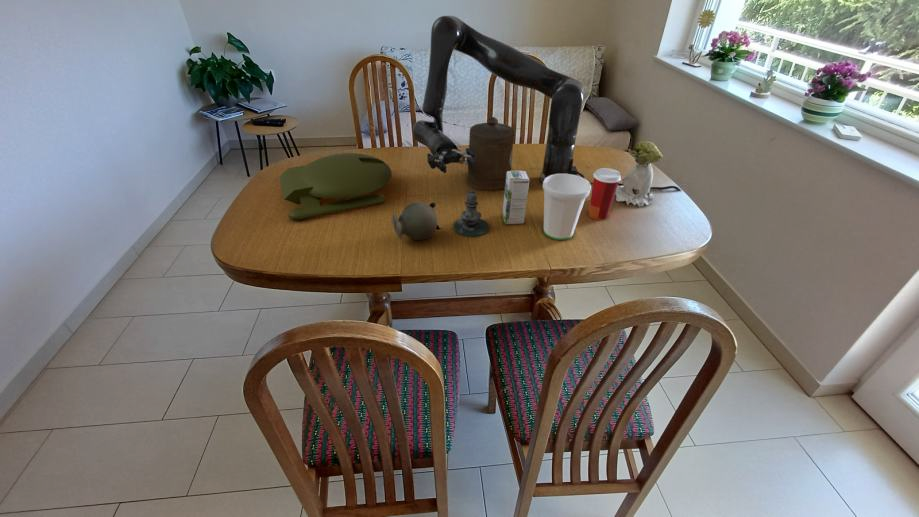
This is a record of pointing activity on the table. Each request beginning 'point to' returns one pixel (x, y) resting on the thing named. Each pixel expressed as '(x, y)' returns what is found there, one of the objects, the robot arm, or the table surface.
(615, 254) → the table surface
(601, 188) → the paper cup
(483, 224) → the coaster
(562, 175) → the cup
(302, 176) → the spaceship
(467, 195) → the stone chess piece
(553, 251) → the table surface
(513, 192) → the syrup box
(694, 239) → the table surface
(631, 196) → the white green figurine
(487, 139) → the wooden container
